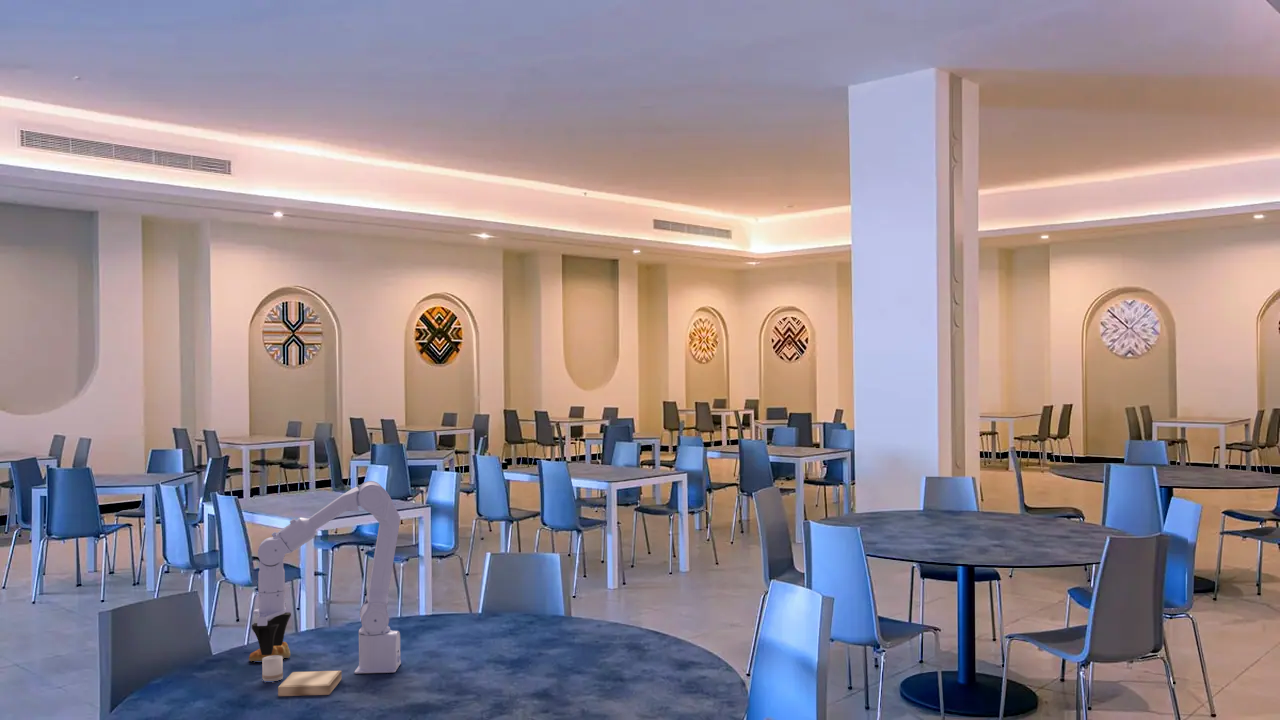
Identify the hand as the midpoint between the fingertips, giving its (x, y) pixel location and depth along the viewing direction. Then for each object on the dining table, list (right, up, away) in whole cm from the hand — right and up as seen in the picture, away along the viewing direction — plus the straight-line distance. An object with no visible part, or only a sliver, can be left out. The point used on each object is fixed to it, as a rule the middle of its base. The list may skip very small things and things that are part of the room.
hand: (272, 649), depth 233 cm
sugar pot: (0, -7, 0) cm, 7 cm away
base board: (+11, -7, -6) cm, 14 cm away
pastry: (-6, -8, +17) cm, 20 cm away
